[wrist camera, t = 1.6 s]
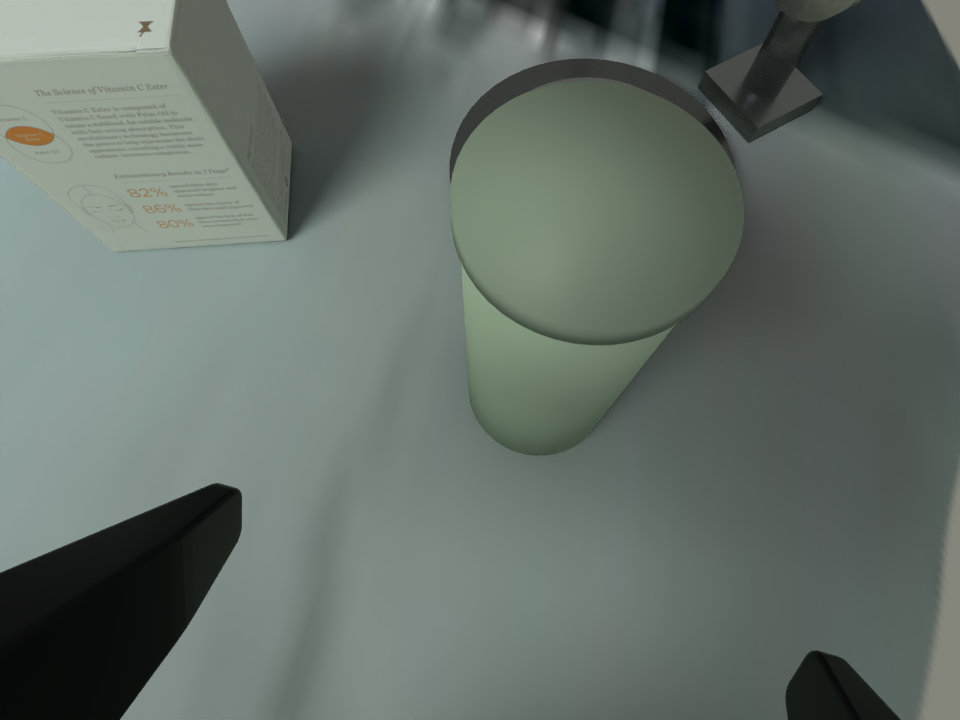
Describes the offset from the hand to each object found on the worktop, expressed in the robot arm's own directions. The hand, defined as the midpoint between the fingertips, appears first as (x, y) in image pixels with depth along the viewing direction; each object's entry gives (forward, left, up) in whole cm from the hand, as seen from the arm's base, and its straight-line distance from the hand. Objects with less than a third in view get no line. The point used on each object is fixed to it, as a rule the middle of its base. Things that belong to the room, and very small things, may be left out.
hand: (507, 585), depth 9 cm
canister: (+4, +6, -13) cm, 15 cm away
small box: (-7, +20, -13) cm, 25 cm away
